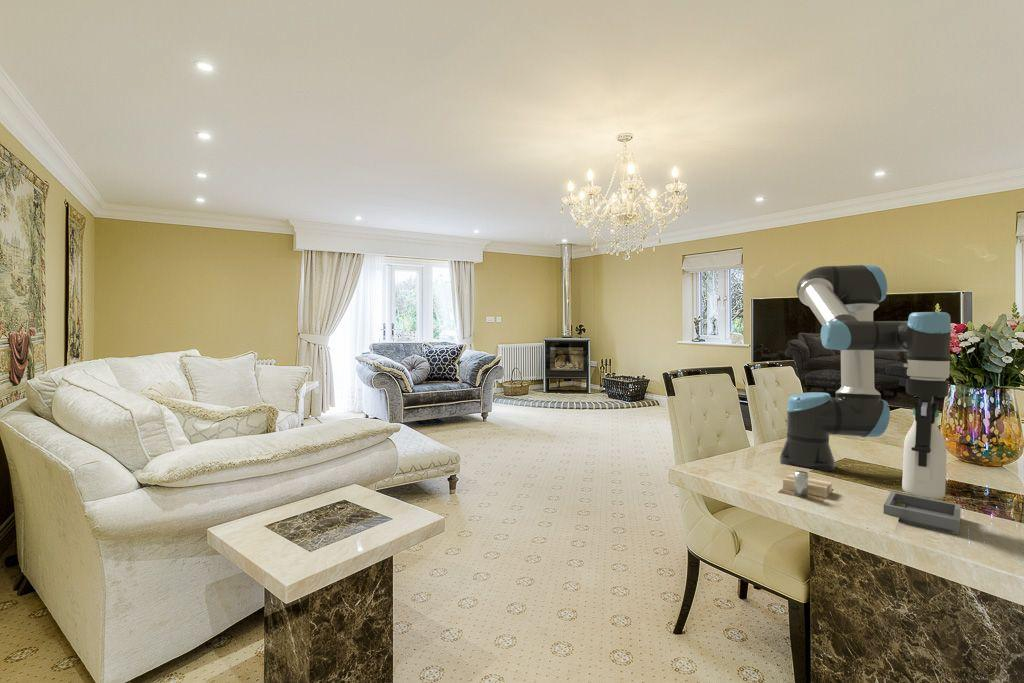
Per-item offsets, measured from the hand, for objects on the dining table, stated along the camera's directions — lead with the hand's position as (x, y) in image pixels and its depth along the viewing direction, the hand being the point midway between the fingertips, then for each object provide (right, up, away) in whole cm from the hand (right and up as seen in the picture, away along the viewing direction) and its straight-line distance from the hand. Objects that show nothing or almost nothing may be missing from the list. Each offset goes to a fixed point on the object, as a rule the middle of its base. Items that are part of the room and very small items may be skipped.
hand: (923, 475), depth 113 cm
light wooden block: (-18, -8, +16) cm, 25 cm away
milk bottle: (0, -4, 0) cm, 4 cm away
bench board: (-18, -9, +16) cm, 26 cm away
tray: (0, -10, 0) cm, 10 cm away
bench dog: (-22, -8, +12) cm, 26 cm away
